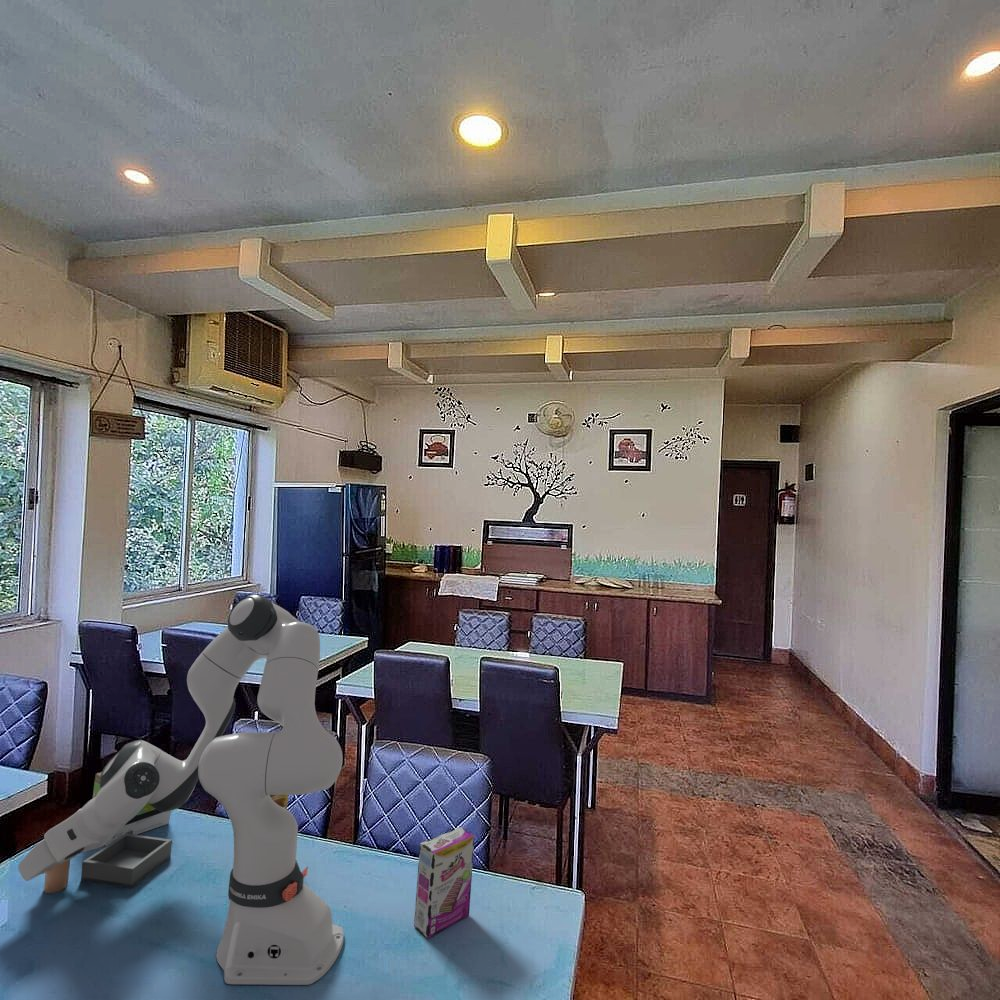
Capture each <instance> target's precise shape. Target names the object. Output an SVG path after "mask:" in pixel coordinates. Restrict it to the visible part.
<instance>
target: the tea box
mask: <svg viewBox="0 0 1000 1000" xmlns="http://www.w3.org/2000/svg"><path fill="white" fill-rule="evenodd" d="M101 773H102V771H101V772H97V773H95V776H94V781H93V782H94V783H93V784H94V785H93V790H92V791H93V792H92V793H93V794H92V799H93V798H95V797H96V796H97V794H98V793H99V791H100V790H101V788H100V776H101ZM171 812H172V810H171V811H167V812H160V811H158V810H157V809H155V808H154V807H152V806H151V805H149V804H148V803H147V804H146V805H145V806H144V807H143V808H142V809H141V810H140V811H139V813H138V814H137V815H136V816H134V817H133V818H132V819H131V820H130V821H128V822H127V823H126V824H125V826H124V827H123V828H122V829H121V830H120V831H119V832H118V833H117V834H116V835H115V836H114V837H113V838H111V839H110V840H109V841H108V842H107V843H106V844H105V845H104V847H106V846H107V845H109V844H110V843H112V842H113V841H115V840H116V839H118V838H119V837H121V836H122V835H124V834H126V833H127V834H134V835H141V834H142V833H146V832H148V831H151V830H153V829H156V828H159V827H163V826H166V825H168V824H169V823H170V820H171V815H172V814H171Z"/></svg>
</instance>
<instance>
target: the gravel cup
mask: <svg viewBox="0 0 1000 1000" xmlns="http://www.w3.org/2000/svg"><path fill="white" fill-rule="evenodd" d="M70 866H71V859H68V860H66V861H64V862H63V863H61V864H59V865H57V866H55V867H53V868H52V869H50V871H48V872H46V873H45V878H44V886H43V889H44V890H43V892H44V893H46V894H56V893H58V892H61V891H63V890H65V889H66V888H67V887H68V885H69V876H70Z"/></svg>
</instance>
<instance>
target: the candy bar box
mask: <svg viewBox="0 0 1000 1000" xmlns="http://www.w3.org/2000/svg"><path fill="white" fill-rule="evenodd" d="M474 848H475V835H473V834H472V833H471V832H469V831H468V830H465V828H463V827H461V826H459V827H456V829H453V830H449V831H447V832H446V833H442V834H440V835H438V836H435V837H433V838H430V839H427V840H425V841H423V842H420V843H419V853H418V854H419V855H418V865H417V866H418V868H417V879H416V880H417V881H416V893H415V904H414V905H415V906H414V920H413V921H414V922H413V927H414V929H417V931H419V932H420V933H421V934H422V936H423V937H425V938H426V939H429V938H431V937H433V936H435V935H436V934H438V933H440V932H441V931H443V930H445V929H447V928H449V927H450V926H452V925H454V924H456V923H458V922H460V921H462V920H463V919H465V918H467V917H468V916H470V907H471V906H470V905H471V904H470V903H471V894H472V892H471V891H472V881H473V878H472V876H473V866H474V865H473V863H474V850H475V849H474Z"/></svg>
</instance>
